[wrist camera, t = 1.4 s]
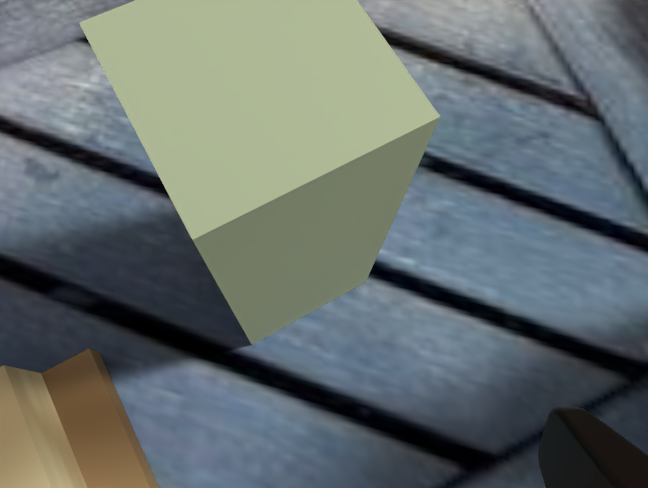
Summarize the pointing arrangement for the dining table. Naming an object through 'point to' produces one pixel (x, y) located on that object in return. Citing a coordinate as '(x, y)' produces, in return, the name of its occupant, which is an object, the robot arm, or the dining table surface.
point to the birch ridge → (67, 429)
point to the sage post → (270, 139)
